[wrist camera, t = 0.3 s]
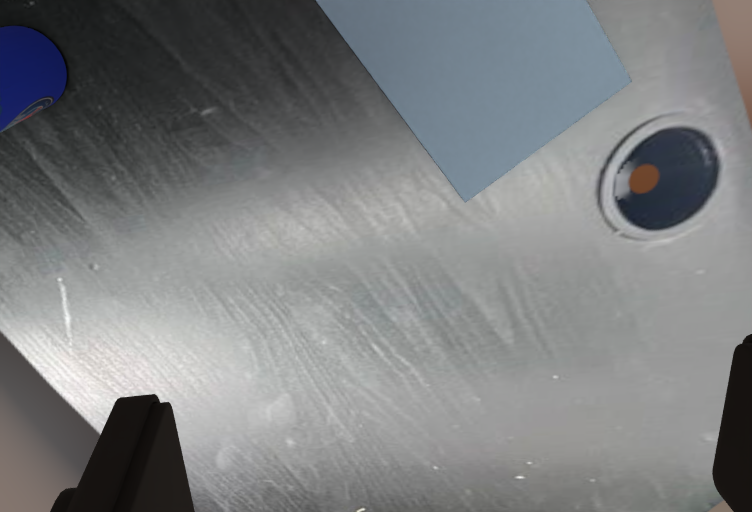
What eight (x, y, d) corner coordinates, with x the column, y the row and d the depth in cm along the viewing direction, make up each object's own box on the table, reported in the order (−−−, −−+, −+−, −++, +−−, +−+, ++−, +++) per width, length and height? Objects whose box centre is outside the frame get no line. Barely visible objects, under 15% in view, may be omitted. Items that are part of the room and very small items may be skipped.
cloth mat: (286, -40, 41) (286, -40, 41) (472, -198, 39) (473, -200, 38) (464, 201, 48) (465, 202, 48) (629, 80, 46) (632, 81, 46)
